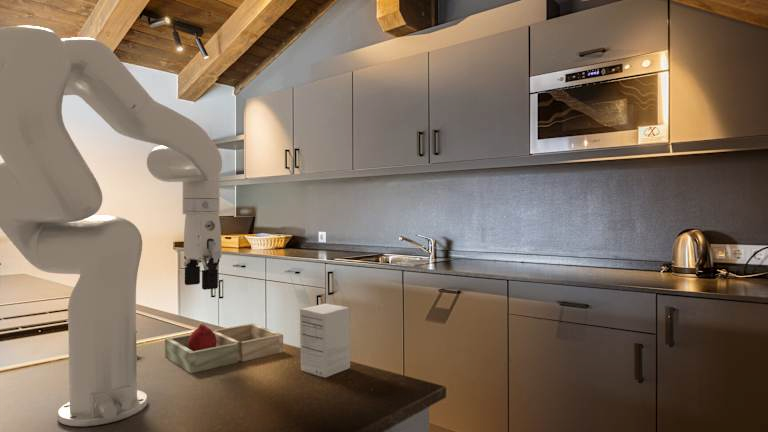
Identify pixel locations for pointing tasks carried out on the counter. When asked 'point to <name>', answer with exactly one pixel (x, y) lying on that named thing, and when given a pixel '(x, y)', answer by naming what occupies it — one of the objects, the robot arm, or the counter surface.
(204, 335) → the onion
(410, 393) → the counter surface
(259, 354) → the compartment tray
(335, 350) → the supplement box
